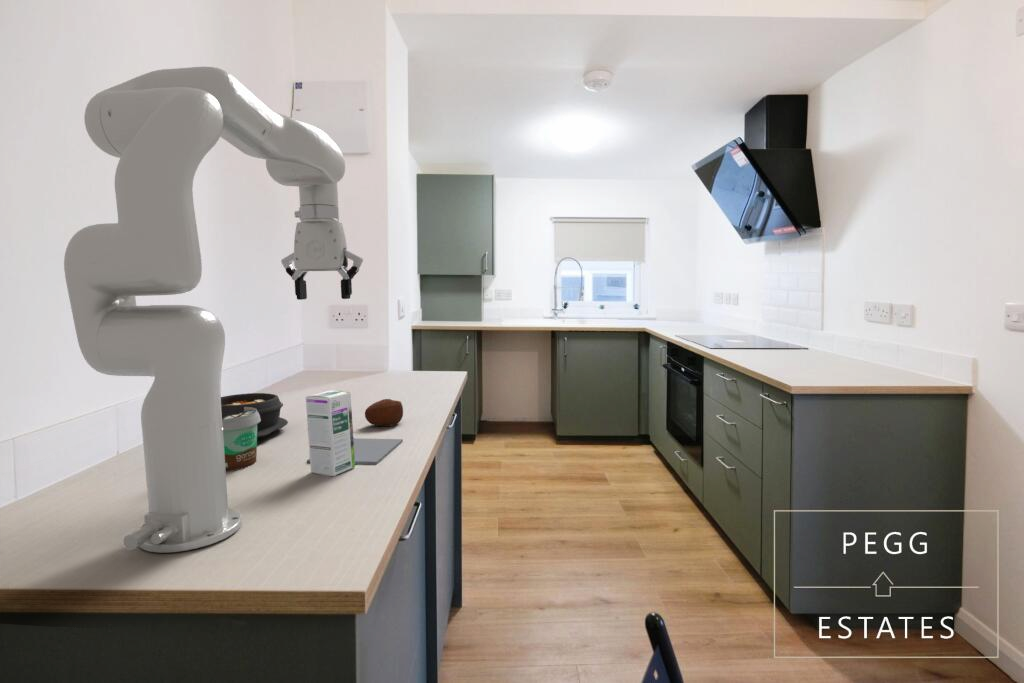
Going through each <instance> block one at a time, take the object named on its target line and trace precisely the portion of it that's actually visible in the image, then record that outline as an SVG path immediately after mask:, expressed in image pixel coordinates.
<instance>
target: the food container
mask: <svg viewBox="0 0 1024 683" xmlns="http://www.w3.org/2000/svg"><path fill="white" fill-rule="evenodd" d="M260 421H261V419H260V415H259V413H258V412H257V409H255V408H251V407H244V412H241V413H239V414H236V415H228V416H225V417H223V418H222V424H223V439H224V454H225V469H226V472H231V470H232V471H237V469H238V470H241V468H242V469H245V467H246V468H249V467H251V466H253V465H255V464H256V463H255V462H257V455H258V454H257V446H258V438H257V423H259V422H260ZM254 463H255V464H254ZM248 466H249V467H248Z"/></svg>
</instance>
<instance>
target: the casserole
mask: <svg viewBox="0 0 1024 683" xmlns="http://www.w3.org/2000/svg"><path fill="white" fill-rule="evenodd" d="M283 406H284V403H282V401H281V400H280V397H279V395H277V394H272V393H268V392H267V393H265V392H252V393H249V392H248V393H240V394H239V393H238V394H230V395H224V396H221V411H222V418H223V417H225V416H228V415H236V414H239V413H241V412H244V407H251V408H255V409H257V412H258V413H259V415H260V419H261V421H260V422H259V423H257V439H258V438H263V437H266V436H268V435H270V434H272V433H273V432H275V431H278V430H279V429H281V428H283V427H285V426H287V425H288V423H289V421H288V420H287V419H286V418H283V417H280V414H281V409H282V407H283Z"/></svg>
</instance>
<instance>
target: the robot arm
mask: <svg viewBox="0 0 1024 683" xmlns="http://www.w3.org/2000/svg"><path fill="white" fill-rule="evenodd" d="M83 117H84V118H83V119H84V127H85V129H86V132H87V135H88V137H89V138H90V139H91V141H92V142H93V144H95V146H96V147H97V148H98V149H100V150H101V151H102V152H104V153H106V154H107V155H109V156H111V157H115V158H118V159H119V160H118V163H117V165H116V168H115V175H114V192H115V201H116V203H115V204H116V210H117V212H116V213H117V222H116V223H112V222H111V223H96V224H92V225H88V226H85V227H83V228H81V229H80V230H78V231H76V232H75V234H73V236H72V237H71V238H70V240H69V242H68V244H67V246H66V248H65V249H66V250H65V252H64V260H63V270H64V277H65V283H66V287H67V288H66V289H67V294H68V298H69V304H70V308H71V313H72V319H73V324H74V325H73V326H74V328H75V329H74V330H75V335H76V338H77V343H78V347H79V349H80V352H81V354H82V356H83V358H84V360H85V361H86V363H87V365H89V366H90V367H91V368H92V369H93V370H94V371H96V372H99V373H100V374H103V375H107V376H113V377H114V376H115V377H116V376H117V377H120V376H121V377H154V379H153V382H152V384H151V387H149V388H150V389H149V390H148V391H147V393H146V396H145V398H144V399H143V403H142V406H141V411H140V422H141V429H142V430H141V432H142V444H143V456H144V467H145V480H146V493H147V506H148V512H147V513H145V514H144V515H143V517H144V518H143V519H144V523H143V524H142V525H141V527H140V528H139V529H136V530H134V531H133V532H131V533H129V534H127V535H126V536H124V538H123V539H122V540H123V541H122V543H123V545H124V547H125V548H126V549H127V550H131V551H133V550H135V549H137V548H140V549H142V550H144V551H147V552H150V553H157V554H159V553H161V554H162V553H163V554H164V553H165V554H166V553H167V554H169V553H178V552H186V551H190V550H197V549H199V548H203V547H207V546H210V545H213V544H216V543H218V542H220V541H223V540H225V539H227V538H228V537H230V536H232V535H233V534H235V533H236V532H237V531H238V530H239V529H240V527H241V526H242V516H241V514H240V513H239V512H237V511H236V510H234V509H229V503H228V502H229V501H228V485H227V471H226V469H225V454H224V439H223V424H222V411H221V397H222V393H221V389H222V386H221V382H222V381H221V380H222V368H223V360H224V355H225V350H226V349H225V346H226V335H225V329H224V326H223V324H222V322H221V320H220V319H219V318H218V316H216V315H215V314H214V313H213V312H211V311H209V310H207V309H206V308H205V309H204V308H202V307H199V306H194V305H187V304H156V305H155V304H151V305H137V300H136V297H141V296H142V297H146V296H150V297H151V296H152V297H153V296H174V295H175V296H176V295H181V294H185V293H188V292H190V291H192V290H194V289H195V288H196V287H197V286H198V285H199V284H200V283H201V279H202V271H203V270H202V268H203V266H202V264H203V263H202V254H201V248H200V247H201V246H200V241H199V239H200V238H199V234H198V226H197V218H196V214H195V205H194V195H193V194H194V193H193V188H194V186H193V185H194V179H195V175H196V172H197V170H198V168H199V165H200V164H201V162H202V161H203V159H204V158H205V156H206V155H207V154H208V153H209V152H210V151H211V150H212V149H213V148H214V147H215V145H216V144H217V143H218V141H219V140H220V138H221V139H223V140H225V141H226V142H227V143H229V145H232V146H233V147H234V148H236V149H237V150H239V151H240V152H241V153H243V154H244V155H247V156H249V157H252V158H256V159H261V160H265V168H266V170H267V173H268V175H269V176H270V178H271V179H272V180H273V181H274V182H276V183H278V184H279V185H282V186H286V187H298V188H299V189H298V192H299V193H298V194H299V208H298V209H299V210H298V211H294V213H293V214H294V217H295V218H298V219H299V221H300V222H296V224H295V233H294V241H293V242H294V243H293V252H292V253H290V254H289V255H287V256H285V257H284V258H282V259H281V264H282V267H284V270H285V272H286V273H287V274H288V275H289V276H290V277H291V279H292V280H293V281H294V294H295V296H296V299H297V300H299V301H300V300H307V298H308V294H307V291H308V290H307V281H306V280H304V279H305V277H306V276H307V275H308V273H309V272H338V274H339V275H340V276H341V277H342V279H340V294H341V295H340V296H341V299H342V300H347V299H348V300H349V299H351V296H352V295H353V290H352V289H353V288H352V287H353V286H352V280H353V279H354V277H355V276H356V275H357V274H358V273H359V271H360V268H361V266H362V264H363V261H364V258H363V257H361V256H359V255H358V254H356V253H353V252H351V251H349V250H348V245H347V240H346V235H345V229H344V227H343V223H342V222H340V215H339V214H340V212H339V197H338V196H339V194H338V193H339V192H338V183H339V182H340V181H341V180H342V179H343V178H344V176H345V173H346V162H345V157H344V154H343V152H342V150H341V149H340V147H339V146H338V145H337V143H336V142H335V141H334V140H333V139H332V138H331V137H330V136H329V135H328V134H327V133H326V132H324V131H323V130H321V129H320V128H317V127H316V126H313V125H311V124H309V123H307V122H303V121H301V120H297V119H296V118H292V117H290V116H287V115H285V114H282V113H279V112H275V111H273V110H272V109H271V108H269V107H268V106H267V105H266V104H265V103H263V102H262V100H260V99H259V98H258V97H257V96H255V95H254V94H253V93H252V91H250V90H249V89H248V88H246V87H245V86H244V85H243V84H242V83H241V82H240V81H239V80H238V79H237V78H235V77H234V76H233V75H232V74H230V73H229V72H227V71H226V70H223V69H221V68H219V67H215V66H193V67H178V68H165V69H164V68H163V69H156V70H153V71H149V72H147V73H143V74H140V75H139V76H136V77H134V78H130V79H128V80H126V81H123V82H122V83H119V84H116V85H113V86H111V87H108V88H107V89H106V88H105V89H103V90H102V91H100V92H98V93H96V94H95V95H94V96H93V97H91V98H90V100H89V101H88V102H87V104H86V107H85V110H84V116H83ZM349 259H350V260H351V261H353V263H352V266H351V267H350V268H349V269H348V266H349ZM292 263H293V264H294V267H293V264H292Z"/></svg>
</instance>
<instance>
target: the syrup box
mask: <svg viewBox="0 0 1024 683" xmlns="http://www.w3.org/2000/svg"><path fill="white" fill-rule="evenodd" d="M305 406H306V422H307V423H306V424H307V433H308V434H307V435H308V436H307V438H308V447H309V448H308V450H309V459H310V463H309V464H310V465H309V466H310V472H311V473H313V474H317V475H321V476H329V477H337V475H339V474H342V473H344V472H346V471H349V470H351V469H355V467H356V464H355V457H354V441H353V438H354V428H353V426H354V425H353V411H352V408H353V407H352V394H351V392H350V391H345V390H326V391H323V392H319V393H315V394H311V395H306V397H305Z"/></svg>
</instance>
